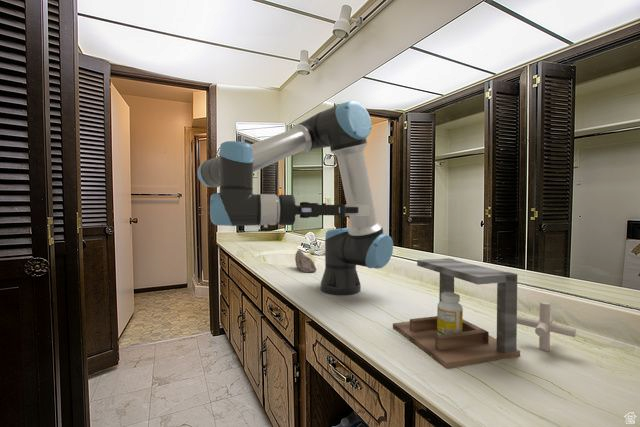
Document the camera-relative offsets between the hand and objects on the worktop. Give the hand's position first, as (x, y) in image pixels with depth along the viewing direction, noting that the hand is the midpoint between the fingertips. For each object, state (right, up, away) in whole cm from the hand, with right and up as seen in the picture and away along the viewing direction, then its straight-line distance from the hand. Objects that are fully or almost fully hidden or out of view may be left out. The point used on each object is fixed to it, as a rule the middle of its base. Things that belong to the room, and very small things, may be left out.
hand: (358, 210), depth 77 cm
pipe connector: (+39, -30, -14) cm, 51 cm away
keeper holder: (+20, -30, -10) cm, 37 cm away
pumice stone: (-18, -29, +67) cm, 76 cm away
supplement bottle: (+20, -29, -10) cm, 37 cm away
